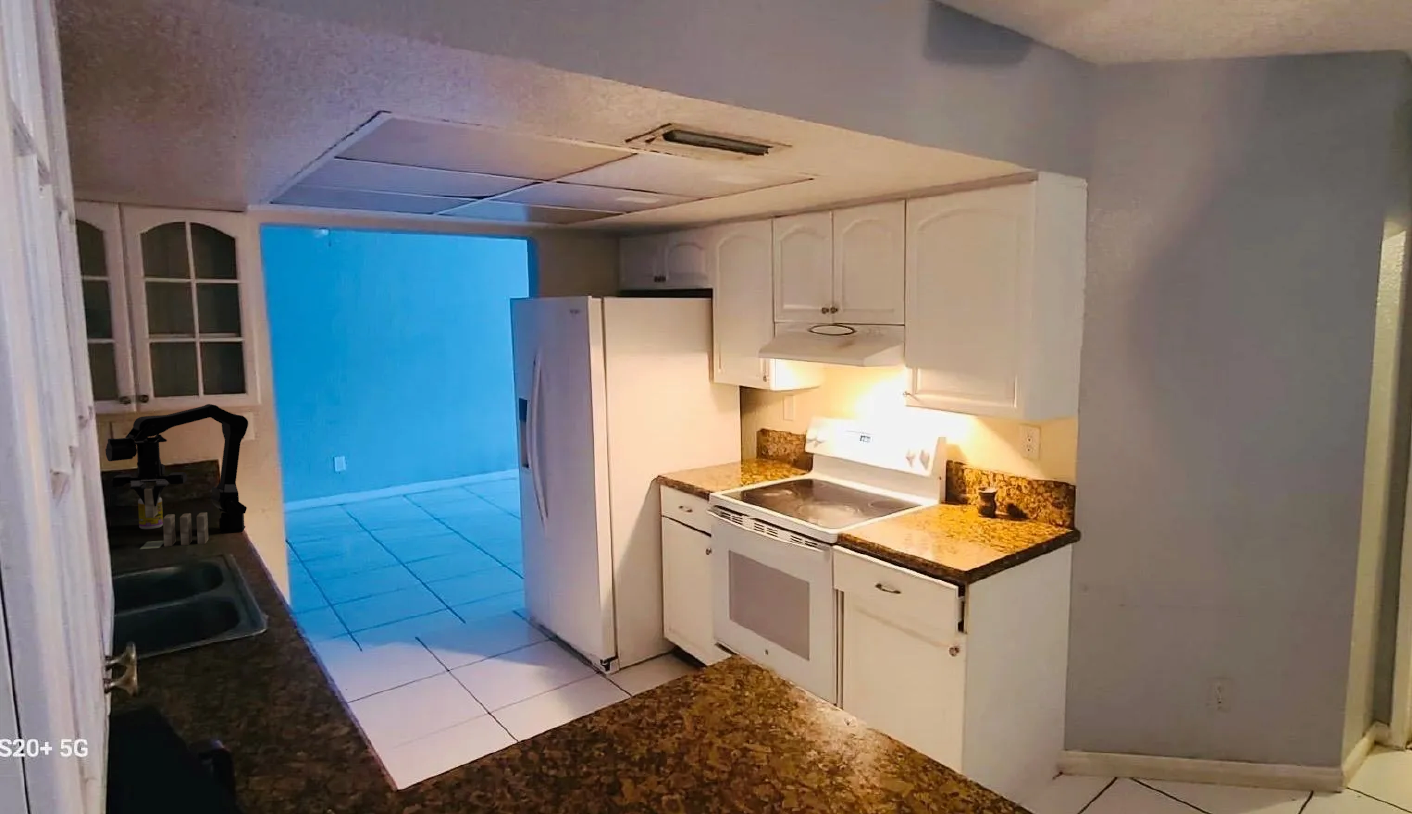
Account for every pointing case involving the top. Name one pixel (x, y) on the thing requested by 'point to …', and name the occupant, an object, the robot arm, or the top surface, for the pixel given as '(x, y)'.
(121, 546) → the top surface
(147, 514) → the tile
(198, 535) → the domino
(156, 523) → the supplement bottle
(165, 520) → the domino
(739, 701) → the top surface
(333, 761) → the top surface
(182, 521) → the domino
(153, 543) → the gap pad
